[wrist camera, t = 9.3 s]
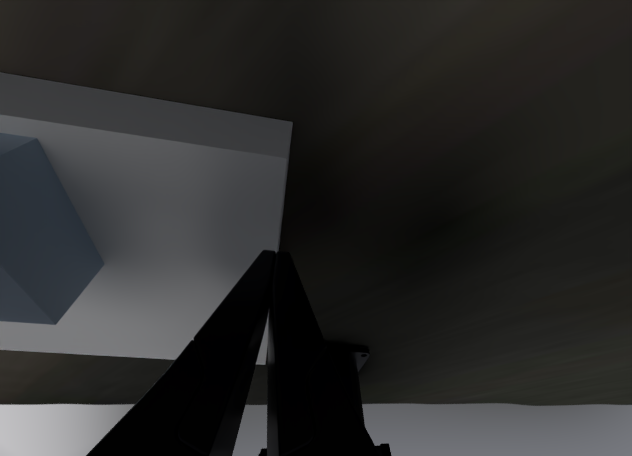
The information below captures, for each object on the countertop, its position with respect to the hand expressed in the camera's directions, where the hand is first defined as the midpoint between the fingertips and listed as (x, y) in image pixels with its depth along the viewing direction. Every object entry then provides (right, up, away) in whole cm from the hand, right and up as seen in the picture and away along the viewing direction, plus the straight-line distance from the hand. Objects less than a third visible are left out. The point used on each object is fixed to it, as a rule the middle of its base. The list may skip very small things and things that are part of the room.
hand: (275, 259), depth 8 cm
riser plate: (-8, +1, +5) cm, 9 cm away
